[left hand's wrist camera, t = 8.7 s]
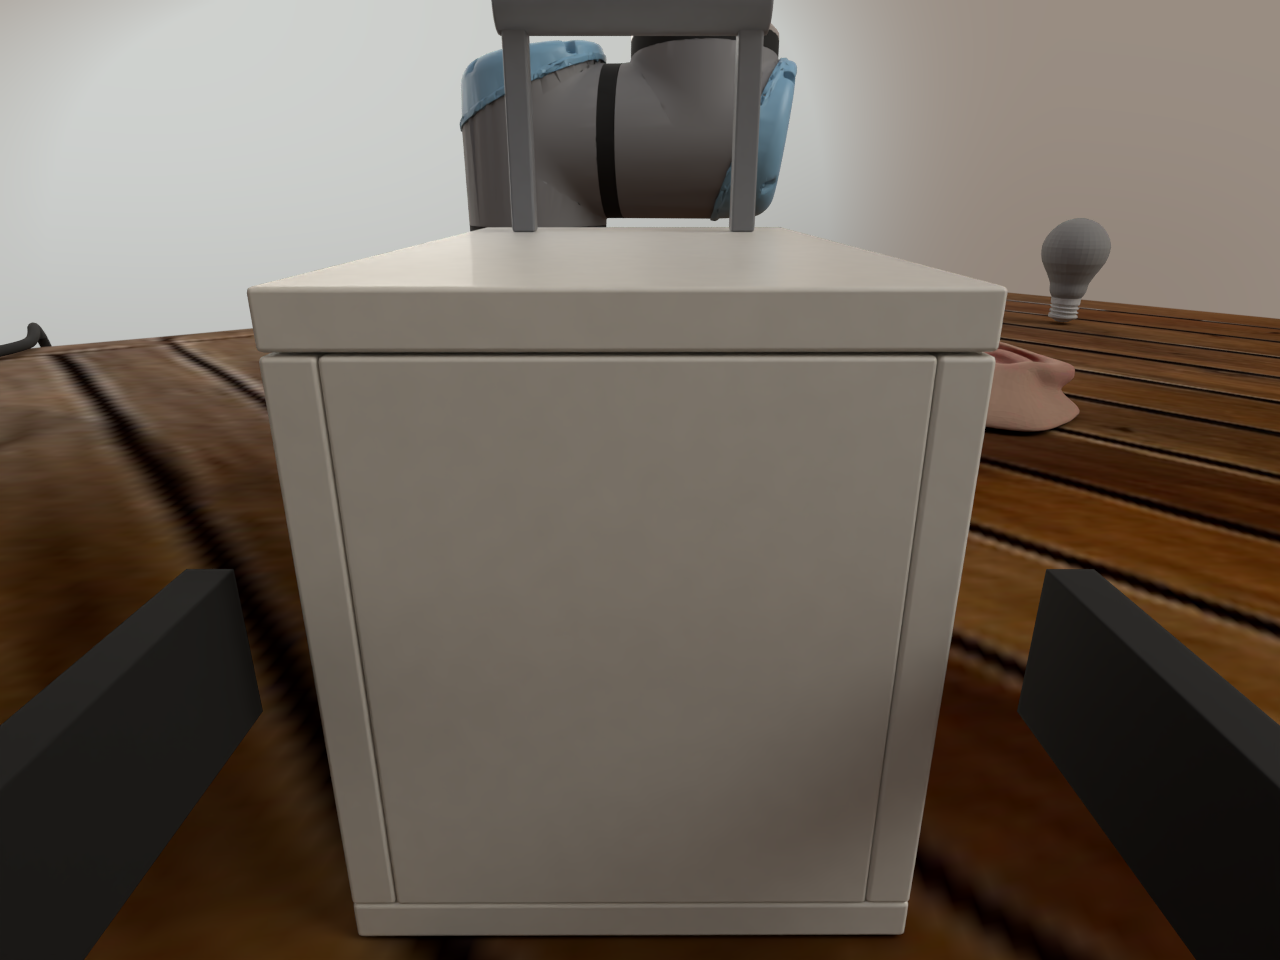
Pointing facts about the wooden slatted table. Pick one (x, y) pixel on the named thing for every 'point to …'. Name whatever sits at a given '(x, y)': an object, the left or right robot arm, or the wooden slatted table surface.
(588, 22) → the lid
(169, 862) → the wooden slatted table surface
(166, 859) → the wooden slatted table surface
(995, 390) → the anatomical model
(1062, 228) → the light bulb
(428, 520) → the chest
